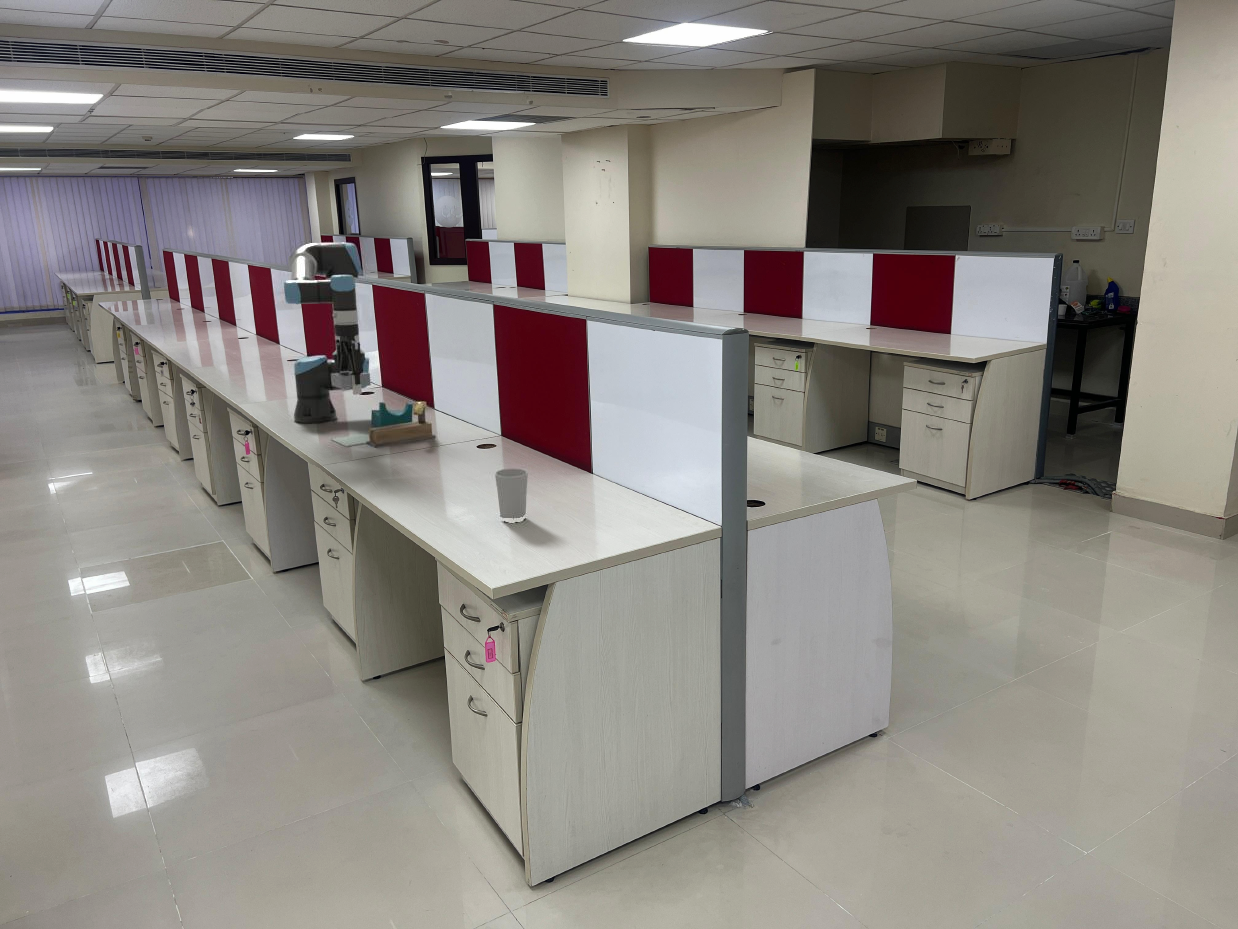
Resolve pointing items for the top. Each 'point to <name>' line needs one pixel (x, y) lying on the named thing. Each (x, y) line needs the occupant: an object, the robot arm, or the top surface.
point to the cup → (512, 492)
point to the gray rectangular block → (348, 379)
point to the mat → (352, 440)
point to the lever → (419, 408)
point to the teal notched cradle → (391, 415)
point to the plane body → (401, 433)
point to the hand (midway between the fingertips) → (351, 392)
